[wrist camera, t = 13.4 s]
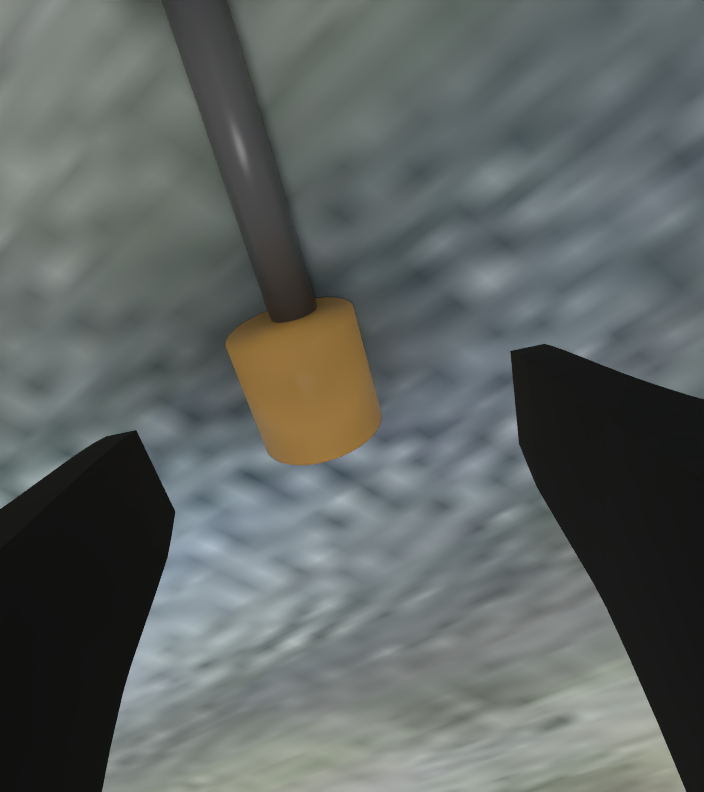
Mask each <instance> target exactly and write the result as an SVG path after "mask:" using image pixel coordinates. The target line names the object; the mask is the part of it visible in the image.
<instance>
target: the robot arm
mask: <svg viewBox="0 0 704 792" xmlns="http://www.w3.org/2000/svg"><path fill="white" fill-rule="evenodd" d="M511 362H512V372H513V383H514V394H515V405H516V416H517V426H518V437H519V444H520V447H521V449H522V452H523V455H524V457H525V460H526V462H527V465H528V467H529V469H530V472H531V474H532V476H533V479H534V481H535V484H536V486H537V488H538V489H539V491H540V493H541V495H542V496H543V498H544V500H545V502H546V503H547V505H548V507H549V509H550V510H551V512H552V514H553V515H554V517H555V519H556V521H557V522H558V524H559V526H560V527H561V529H562V531H563V532H564V534H565V536H566V537H567V539H568V541H569V542H570V544H571V546H572V548H573V549H574V551H575V553H576V554H577V556H578V558H579V559H580V561H581V563H582V564H583V566H584V568H585V570H586V571H587V573H588V575H589V576H590V578H591V580H592V581H593V583H594V585H595V587H596V589H597V591H598V592H599V594H600V596H601V598H602V600H603V602H604V604H605V606H606V608H607V610H608V612H609V614H610V616H611V619H612V621H613V623H614V625H615V627H616V629H617V632H618V634H619V636H620V638H621V640H622V643H623V645H624V647H625V649H626V651H627V654H628V656H629V658H630V660H631V662H632V665H633V667H634V669H635V672H636V674H637V676H638V678H639V681H640V683H641V685H642V688H643V690H644V692H645V695H646V697H647V699H648V701H649V704H650V706H651V708H652V711H653V713H654V715H655V717H656V720H657V722H658V724H659V727H660V729H661V732H662V734H663V736H664V739H665V741H666V744H667V746H668V748H669V751H670V753H671V756H672V758H673V761H674V763H675V765H676V768H677V770H678V773H679V775H680V777H681V780H682V782H683V785H684V787H685V789H686V792H704V399H700V398H697V397H693V396H690V395H686V394H683V393H680V392H677V391H674V390H670V389H667V388H664V387H661V386H658V385H655V384H652V383H649V382H646V381H643V380H640V379H637V378H634V377H632V376H629V375H626V374H624V373H621V372H618V371H616V370H613V369H610V368H608V367H605V366H603V365H600V364H598V363H595V362H593V361H590V360H588V359H585V358H583V357H580V356H578V355H575V354H572V353H570V352H567V351H565V350H562V349H559V348H556V347H553V346H550V345H546V344H542V345H537V346H532V347H527V348H523V349H518V350H513V351H511ZM174 517H175V510H174V508H173V506H172V504H171V502H170V500H169V498H168V496H167V493H166V491H165V489H164V487H163V485H162V483H161V481H160V479H159V477H158V475H157V473H156V471H155V468H154V466H153V464H152V462H151V460H150V458H149V456H148V454H147V452H146V450H145V448H144V445H143V443H142V441H141V439H140V437H139V435H138V433H137V431H136V430H135V431H130V432H125V433H121V434H116V435H111V436H106V437H105V438H103V439H101V440H99V441H97V442H95V443H93V444H92V445H90V446H89V447H87V448H85V449H84V450H82V451H81V452H79V453H78V454H77V455H75V456H74V457H72V458H71V459H69V460H68V461H66V462H65V463H64V464H62V465H61V466H60V467H58V468H57V469H55V470H54V471H53V472H51V473H50V474H48V475H47V476H46V477H44V478H43V479H42V480H40V481H39V482H37V483H36V484H35V485H33V486H32V487H31V488H29V489H28V490H27V491H25V492H24V493H22V494H21V495H20V496H18V497H17V498H16V499H14V500H13V501H11V502H10V503H8V504H7V505H6V506H4V507H3V508H1V509H0V792H102V788H103V783H104V778H105V772H106V767H107V762H108V757H109V752H110V747H111V743H112V738H113V734H114V730H115V725H116V721H117V716H118V712H119V708H120V703H121V699H122V694H123V690H124V687H125V684H126V680H127V677H128V674H129V670H130V667H131V664H132V661H133V658H134V655H135V652H136V649H137V646H138V643H139V640H140V637H141V635H142V632H143V629H144V626H145V623H146V620H147V617H148V614H149V611H150V608H151V605H152V603H153V600H154V597H155V594H156V591H157V588H158V585H159V582H160V579H161V576H162V573H163V570H164V566H165V563H166V560H167V557H168V551H169V546H170V541H171V536H172V530H173V523H174Z"/></svg>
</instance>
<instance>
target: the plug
mask: <svg viewBox="0 0 704 792" xmlns="http://www.w3.org/2000/svg"><path fill="white" fill-rule="evenodd" d="M162 2H163V5H164V8H165V11H166V14H167V17H168V20H169V23H170V26H171V29H172V32H173V35H174V38H175V41H176V43H177V46H178V49H179V52H180V55H181V58H182V61H183V64H184V67H185V70H186V73H187V76H188V79H189V82H190V84H191V87H192V90H193V93H194V96H195V99H196V102H197V105H198V108H199V111H200V114H201V117H202V120H203V122H204V125H205V128H206V131H207V134H208V137H209V140H210V143H211V146H212V149H213V152H214V155H215V158H216V161H217V163H218V166H219V169H220V172H221V175H222V178H223V181H224V184H225V187H226V190H227V193H228V196H229V199H230V202H231V204H232V207H233V210H234V213H235V216H236V219H237V222H238V225H239V228H240V231H241V234H242V237H243V240H244V243H245V245H246V248H247V251H248V254H249V257H250V260H251V263H252V266H253V269H254V272H255V275H256V278H257V281H258V283H259V286H260V289H261V292H262V295H263V298H264V301H265V304H266V307H267V310H268V311H266V312H264V313H261V314H259V315H257V316H255V317H253V318H251V319H249V320H248V321H246V322H244V323H243V324H241V325H240V326H238V327H237V328H236V329H235V330H234V331H233V332H232V333H231V334H230V335H229V336H228V337H227V339H226V343H225V345H226V348H227V351H228V353H229V356H230V358H231V361H232V364H233V366H234V369H235V371H236V374H237V376H238V379H239V381H240V384H241V386H242V389H243V392H244V394H245V397H246V399H247V402H248V404H249V407H250V409H251V412H252V415H253V417H254V420H255V422H256V425H257V427H258V430H259V432H260V435H261V437H262V440H263V443H264V445H265V448H266V450H267V452H268V454H269V455H270V456H271V457H272V458H273V459H275V460H277V461H279V462H282V463H285V464H291V465H310V464H317V463H322V462H326V461H329V460H333V459H336V458H338V457H341V456H343V455H345V454H348V453H350V452H352V451H353V450H355V449H357V448H358V447H360V446H361V445H363V444H364V443H365V442H367V441H368V440H369V439H370V438H371V437H372V436H373V435H374V434H375V432H376V431H377V429H378V428H379V426H380V423H381V419H382V414H381V410H380V406H379V402H378V398H377V395H376V391H375V387H374V383H373V379H372V376H371V372H370V368H369V364H368V360H367V357H366V353H365V349H364V345H363V341H362V338H361V334H360V330H359V326H358V322H357V319H356V315H355V311H354V307H353V305H352V303H351V302H349V301H348V300H345V299H342V298H334V297H323V298H315V297H314V294H313V291H312V287H311V284H310V280H309V277H308V274H307V270H306V267H305V264H304V260H303V257H302V253H301V250H300V247H299V243H298V240H297V236H296V233H295V230H294V226H293V223H292V220H291V216H290V213H289V209H288V206H287V203H286V199H285V196H284V193H283V189H282V186H281V182H280V179H279V176H278V172H277V169H276V166H275V162H274V159H273V155H272V152H271V149H270V145H269V142H268V138H267V135H266V132H265V128H264V125H263V122H262V118H261V115H260V111H259V108H258V105H257V101H256V98H255V95H254V91H253V88H252V84H251V81H250V78H249V74H248V71H247V67H246V64H245V61H244V57H243V54H242V51H241V47H240V44H239V40H238V37H237V34H236V30H235V27H234V24H233V20H232V17H231V13H230V10H229V7H228V3H227V0H162Z"/></svg>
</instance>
